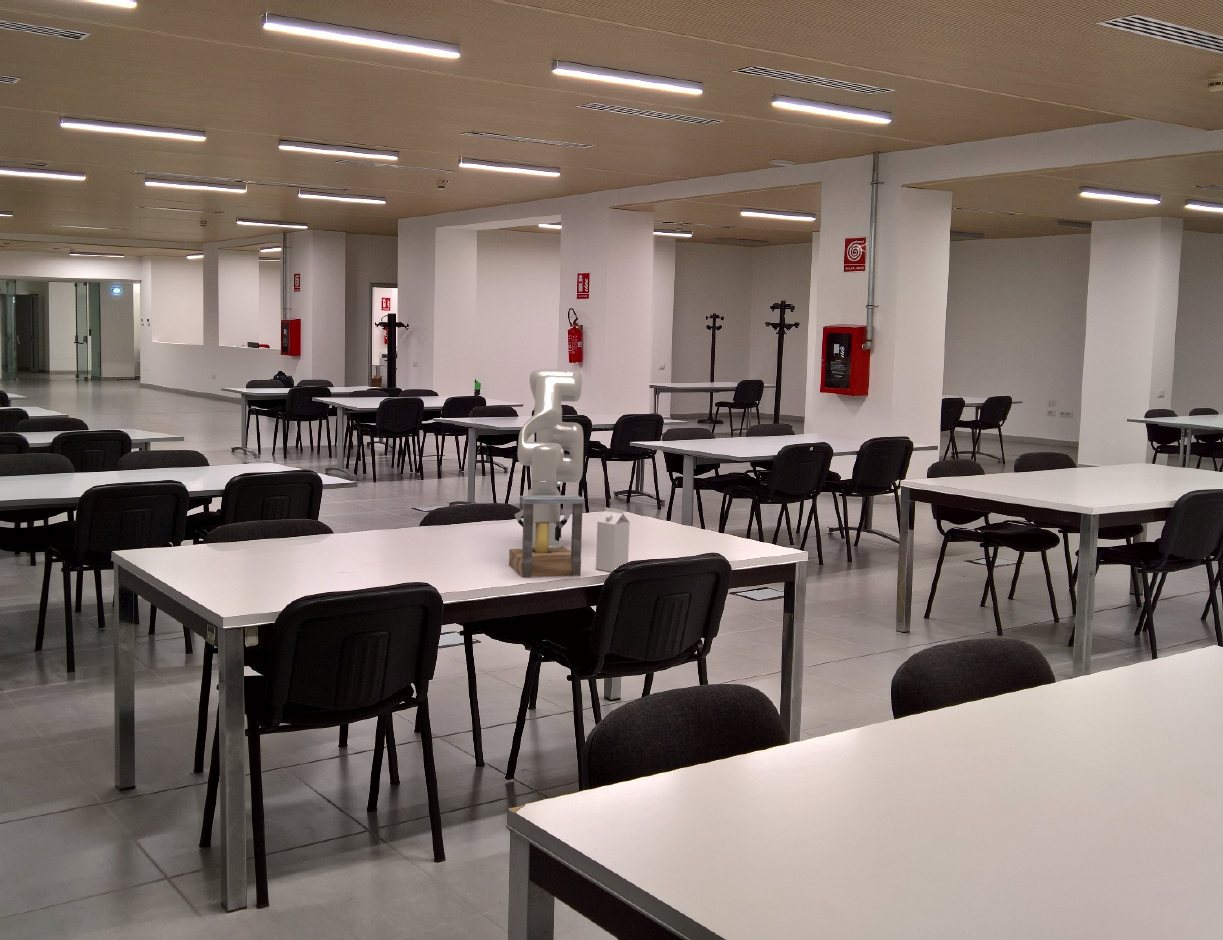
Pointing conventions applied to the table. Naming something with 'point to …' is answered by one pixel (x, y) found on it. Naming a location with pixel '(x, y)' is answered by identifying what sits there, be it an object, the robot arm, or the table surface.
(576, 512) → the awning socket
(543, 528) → the peg
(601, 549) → the milk carton
